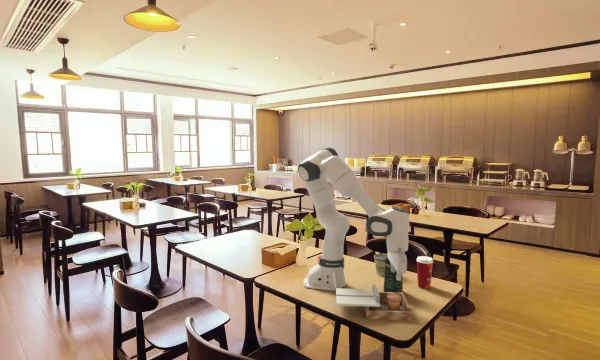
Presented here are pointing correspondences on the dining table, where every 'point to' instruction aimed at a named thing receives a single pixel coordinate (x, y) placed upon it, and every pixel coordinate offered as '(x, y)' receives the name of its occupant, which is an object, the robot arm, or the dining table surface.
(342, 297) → the lid
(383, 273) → the ceramic cup
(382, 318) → the wooden box
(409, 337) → the dining table surface
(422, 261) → the coffee cup
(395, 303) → the terracotta pot
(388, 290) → the coffee jar
